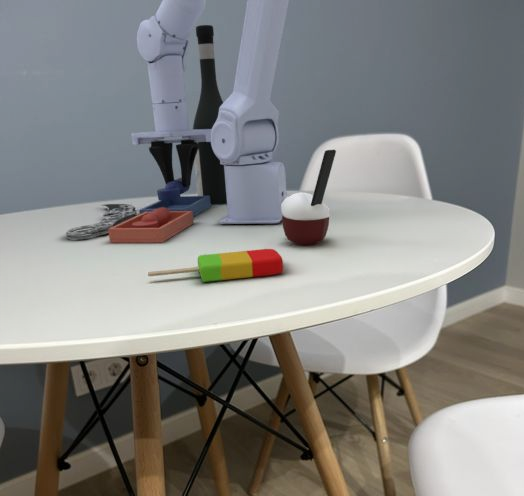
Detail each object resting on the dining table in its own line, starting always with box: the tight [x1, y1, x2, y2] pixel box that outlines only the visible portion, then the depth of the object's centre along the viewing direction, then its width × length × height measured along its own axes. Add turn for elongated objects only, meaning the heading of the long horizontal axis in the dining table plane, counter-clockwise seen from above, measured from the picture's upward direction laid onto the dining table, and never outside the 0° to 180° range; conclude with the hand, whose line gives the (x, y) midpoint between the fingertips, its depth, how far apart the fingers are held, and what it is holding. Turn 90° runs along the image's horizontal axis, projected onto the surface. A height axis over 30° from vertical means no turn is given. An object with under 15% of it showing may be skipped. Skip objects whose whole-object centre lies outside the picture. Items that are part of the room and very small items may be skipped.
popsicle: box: [147, 248, 284, 283], centre depth 65 cm, size 6×15×2 cm, turn 100°
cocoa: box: [281, 149, 337, 246], centre depth 75 cm, size 10×6×12 cm, turn 9°
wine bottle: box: [192, 24, 227, 205], centre depth 107 cm, size 8×8×30 cm
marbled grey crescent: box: [65, 203, 137, 241], centre depth 100 cm, size 28×2×10 cm
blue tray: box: [138, 195, 212, 218], centre depth 103 cm, size 8×13×2 cm, turn 167°
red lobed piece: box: [132, 207, 171, 228], centre depth 89 cm, size 10×4×3 cm, turn 167°
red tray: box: [108, 211, 194, 244], centre depth 89 cm, size 8×13×2 cm, turn 167°
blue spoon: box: [156, 177, 191, 201], centre depth 102 cm, size 10×4×3 cm, turn 167°
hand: (178, 186), depth 103 cm, fingers closed on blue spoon, 2 cm apart
